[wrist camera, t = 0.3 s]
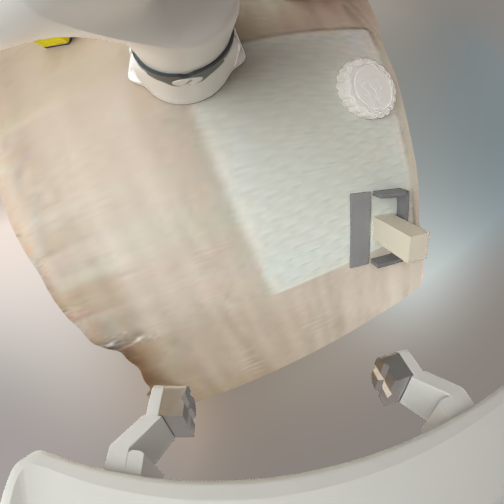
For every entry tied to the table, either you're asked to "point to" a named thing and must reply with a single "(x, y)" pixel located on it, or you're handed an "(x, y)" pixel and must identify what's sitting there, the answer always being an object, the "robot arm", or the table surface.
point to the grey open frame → (361, 225)
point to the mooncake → (366, 88)
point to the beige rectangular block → (400, 237)
